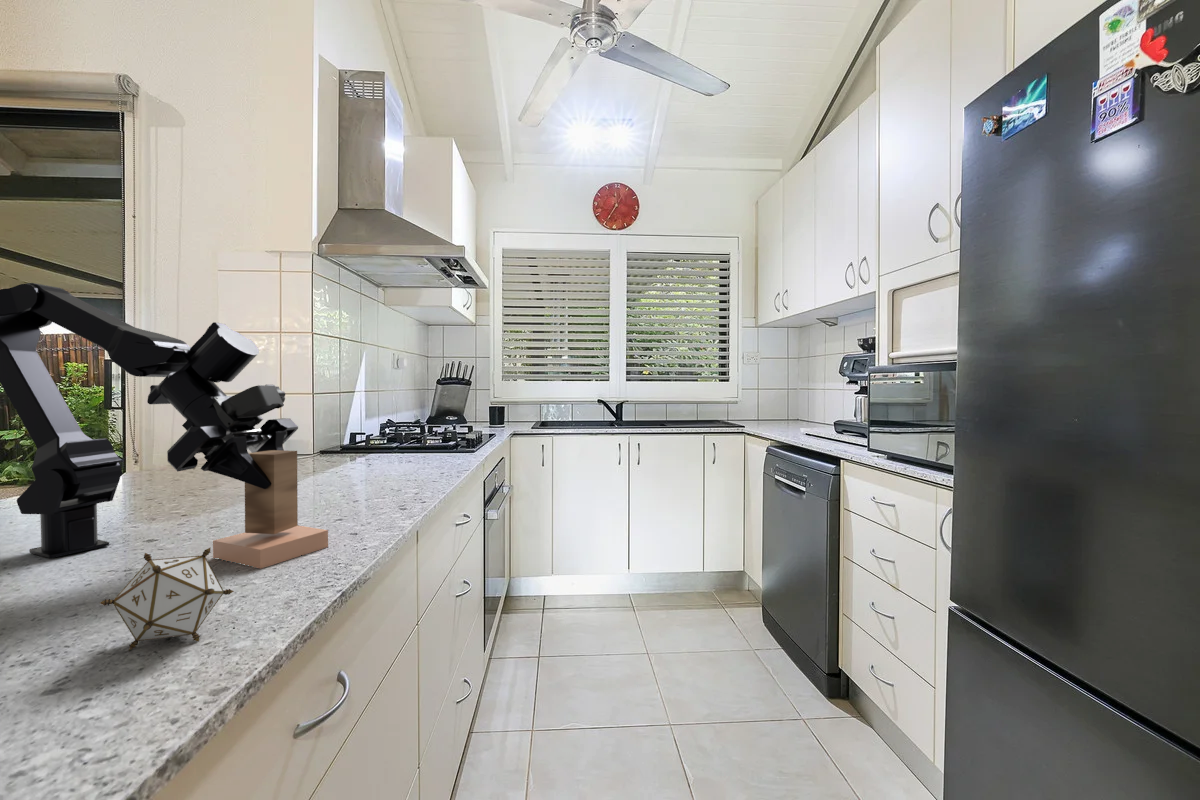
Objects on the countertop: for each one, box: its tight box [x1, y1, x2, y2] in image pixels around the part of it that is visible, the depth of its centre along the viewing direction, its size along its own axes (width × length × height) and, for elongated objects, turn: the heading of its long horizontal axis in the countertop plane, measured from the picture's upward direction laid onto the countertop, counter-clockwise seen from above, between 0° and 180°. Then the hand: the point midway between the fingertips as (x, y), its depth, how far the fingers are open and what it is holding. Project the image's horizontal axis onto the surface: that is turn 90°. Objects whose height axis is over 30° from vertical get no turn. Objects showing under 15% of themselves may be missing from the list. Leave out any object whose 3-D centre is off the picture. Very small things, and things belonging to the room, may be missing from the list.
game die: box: [99, 547, 235, 652], centre depth 49 cm, size 9×8×10 cm
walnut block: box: [244, 450, 299, 534], centre depth 74 cm, size 4×4×11 cm
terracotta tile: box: [212, 525, 329, 570], centre depth 74 cm, size 10×10×2 cm
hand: (280, 483), depth 74 cm, fingers closed on walnut block, 5 cm apart
